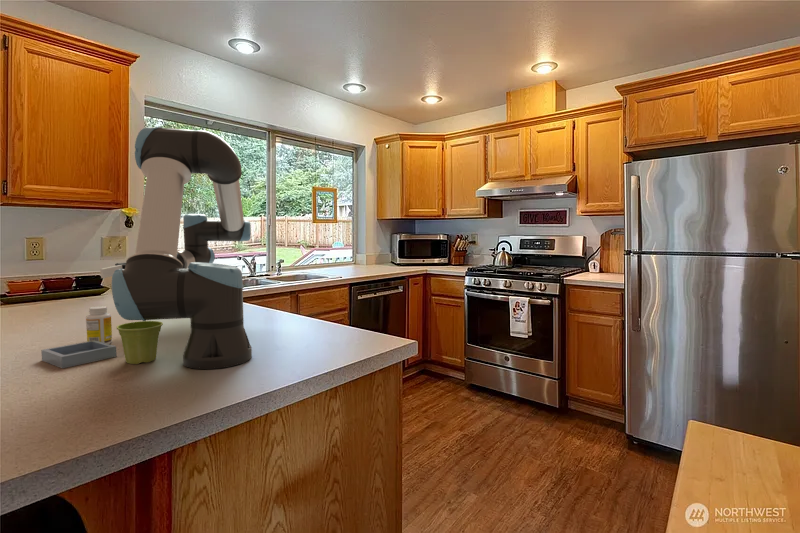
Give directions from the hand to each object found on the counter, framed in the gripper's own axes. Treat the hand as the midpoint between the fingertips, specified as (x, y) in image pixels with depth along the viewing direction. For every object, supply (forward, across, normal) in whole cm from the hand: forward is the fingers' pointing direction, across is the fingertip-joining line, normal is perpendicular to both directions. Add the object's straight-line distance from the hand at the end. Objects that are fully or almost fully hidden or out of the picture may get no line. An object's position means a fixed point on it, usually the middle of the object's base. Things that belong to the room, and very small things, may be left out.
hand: (120, 275), depth 118 cm
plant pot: (+18, -24, -15) cm, 33 cm away
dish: (+20, -8, -16) cm, 27 cm away
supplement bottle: (+9, 0, -18) cm, 20 cm away
